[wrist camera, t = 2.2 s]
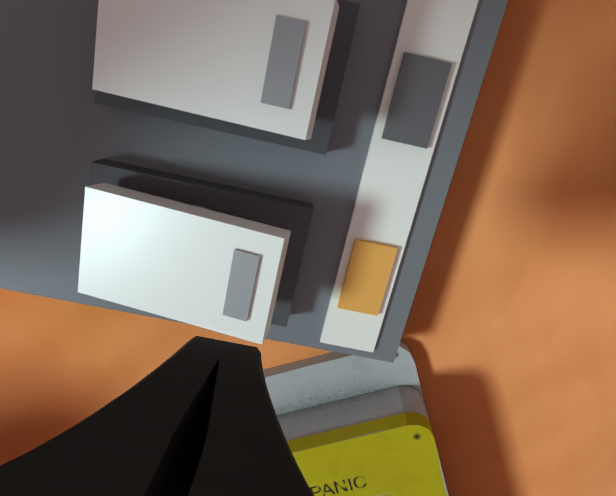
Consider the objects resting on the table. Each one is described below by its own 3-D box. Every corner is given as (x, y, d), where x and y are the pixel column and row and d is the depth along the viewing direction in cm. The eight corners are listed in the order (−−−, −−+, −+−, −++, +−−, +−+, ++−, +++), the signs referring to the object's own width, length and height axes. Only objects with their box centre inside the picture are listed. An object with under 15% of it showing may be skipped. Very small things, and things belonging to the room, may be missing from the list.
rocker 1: (112, 91, 14) (89, 89, 13) (122, -39, 13) (99, -53, 12) (311, 138, 13) (304, 140, 12) (339, 6, 12) (335, -5, 11)
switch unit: (0, 263, 19) (-68, 300, 16) (9, -361, 13) (-97, -529, 10) (385, 338, 20) (401, 387, 17) (549, -201, 15) (628, -299, 11)
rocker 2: (96, 282, 16) (75, 293, 15) (104, 182, 15) (82, 187, 14) (269, 330, 15) (260, 346, 14) (290, 230, 14) (283, 239, 13)
